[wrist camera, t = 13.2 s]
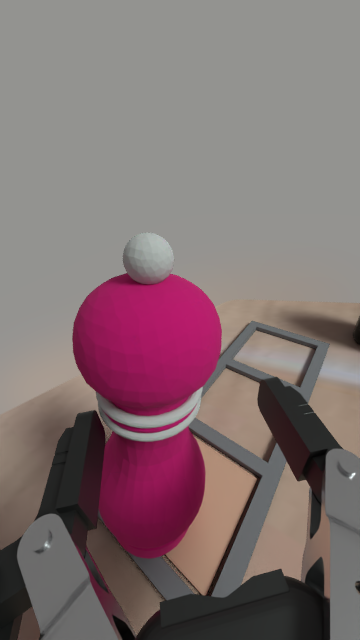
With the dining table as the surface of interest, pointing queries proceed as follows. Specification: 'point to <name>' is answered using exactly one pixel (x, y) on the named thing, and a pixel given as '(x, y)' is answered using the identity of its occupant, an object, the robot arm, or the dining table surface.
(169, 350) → the pepper mill
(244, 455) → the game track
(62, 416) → the dining table surface
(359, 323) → the supplement bottle
